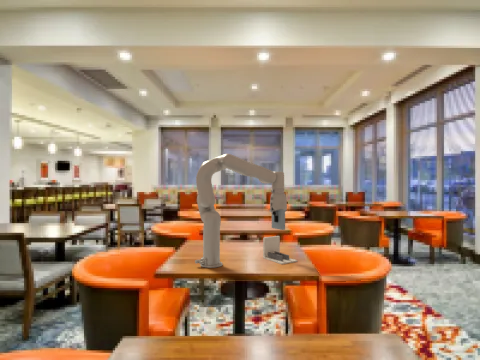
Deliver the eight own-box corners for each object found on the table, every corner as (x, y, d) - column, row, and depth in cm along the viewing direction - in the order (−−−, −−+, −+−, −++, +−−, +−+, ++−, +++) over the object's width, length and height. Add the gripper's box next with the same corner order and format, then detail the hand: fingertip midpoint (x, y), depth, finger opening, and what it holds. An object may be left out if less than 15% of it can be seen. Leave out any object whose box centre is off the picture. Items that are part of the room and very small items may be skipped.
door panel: (280, 230, 186) (280, 209, 186) (270, 228, 194) (270, 208, 194) (285, 229, 187) (285, 209, 187) (274, 227, 196) (274, 208, 196)
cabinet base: (281, 264, 181) (281, 242, 181) (263, 258, 196) (263, 237, 196) (297, 261, 187) (297, 240, 187) (278, 255, 202) (278, 235, 202)
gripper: (271, 192, 184) (271, 223, 184) (292, 191, 192) (292, 221, 192) (263, 191, 190) (263, 222, 190) (284, 191, 199) (284, 220, 198)
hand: (278, 221), depth 191 cm, fingers closed on door panel, 2 cm apart
